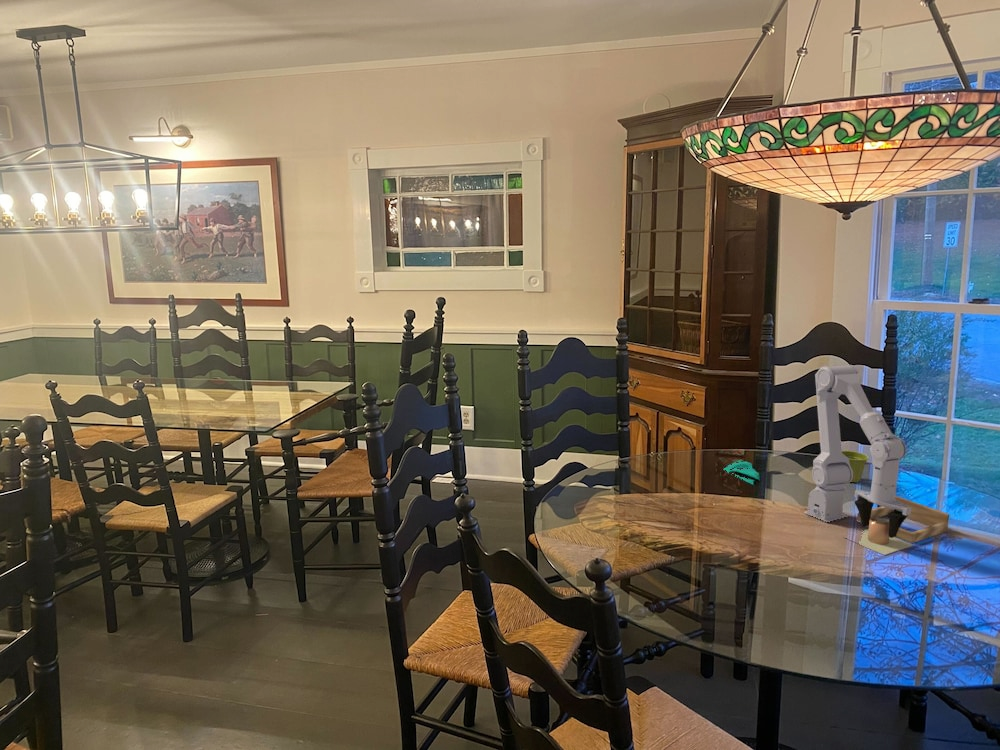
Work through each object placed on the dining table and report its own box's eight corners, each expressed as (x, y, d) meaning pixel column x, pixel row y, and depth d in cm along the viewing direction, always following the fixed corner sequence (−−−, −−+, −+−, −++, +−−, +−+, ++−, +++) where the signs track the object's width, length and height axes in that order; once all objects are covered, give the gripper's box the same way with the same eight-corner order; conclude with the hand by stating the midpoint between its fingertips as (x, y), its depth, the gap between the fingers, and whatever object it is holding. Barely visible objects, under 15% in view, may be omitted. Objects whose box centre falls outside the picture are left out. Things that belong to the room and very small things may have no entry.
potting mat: (884, 555, 177) (884, 554, 177) (842, 537, 188) (842, 536, 187) (913, 545, 183) (913, 544, 183) (870, 528, 193) (870, 528, 193)
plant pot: (859, 475, 235) (861, 451, 233) (870, 485, 226) (873, 460, 224) (830, 474, 236) (832, 450, 234) (840, 484, 227) (843, 459, 225)
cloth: (725, 459, 254) (726, 453, 254) (765, 464, 249) (766, 458, 248) (719, 483, 230) (719, 476, 230) (763, 488, 225) (764, 482, 225)
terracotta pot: (881, 546, 182) (883, 526, 181) (863, 539, 186) (865, 519, 185) (892, 541, 184) (895, 522, 183) (874, 535, 188) (876, 515, 187)
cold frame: (911, 543, 184) (914, 525, 183) (856, 521, 198) (858, 505, 197) (947, 531, 191) (949, 514, 190) (891, 511, 205) (893, 495, 204)
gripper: (920, 489, 177) (914, 538, 180) (868, 472, 190) (863, 518, 193) (903, 493, 174) (897, 544, 177) (851, 476, 187) (846, 523, 189)
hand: (878, 531), depth 184 cm, fingers open, 7 cm apart
